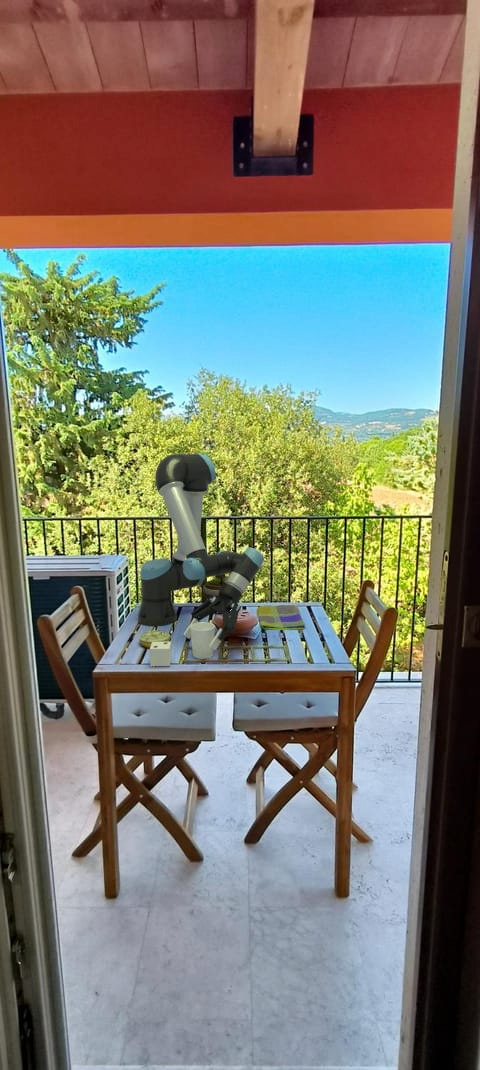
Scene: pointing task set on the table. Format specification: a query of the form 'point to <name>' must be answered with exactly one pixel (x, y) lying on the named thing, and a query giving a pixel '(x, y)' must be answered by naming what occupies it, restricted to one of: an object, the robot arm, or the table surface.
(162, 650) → the white die
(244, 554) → the robot arm
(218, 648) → the flat rectangular frame
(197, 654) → the white cup
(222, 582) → the flowerpot
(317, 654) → the table surface
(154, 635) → the decorated donut
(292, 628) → the dish towel
